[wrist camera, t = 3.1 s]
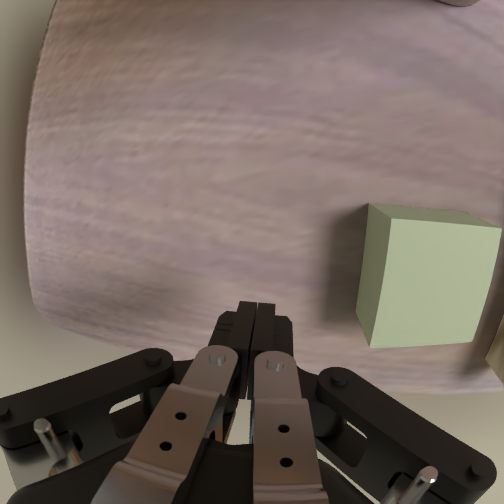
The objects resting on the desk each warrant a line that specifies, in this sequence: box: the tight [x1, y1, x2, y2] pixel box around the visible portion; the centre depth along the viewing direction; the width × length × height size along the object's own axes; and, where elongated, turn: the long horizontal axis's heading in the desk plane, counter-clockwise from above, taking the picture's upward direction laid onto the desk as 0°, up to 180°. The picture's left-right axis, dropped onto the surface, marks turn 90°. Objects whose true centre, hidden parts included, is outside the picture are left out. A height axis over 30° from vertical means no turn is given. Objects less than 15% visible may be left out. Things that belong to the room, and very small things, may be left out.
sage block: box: [355, 203, 502, 348], centre depth 19 cm, size 8×8×5 cm
